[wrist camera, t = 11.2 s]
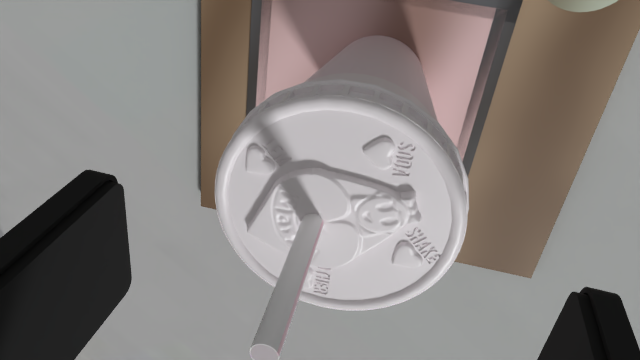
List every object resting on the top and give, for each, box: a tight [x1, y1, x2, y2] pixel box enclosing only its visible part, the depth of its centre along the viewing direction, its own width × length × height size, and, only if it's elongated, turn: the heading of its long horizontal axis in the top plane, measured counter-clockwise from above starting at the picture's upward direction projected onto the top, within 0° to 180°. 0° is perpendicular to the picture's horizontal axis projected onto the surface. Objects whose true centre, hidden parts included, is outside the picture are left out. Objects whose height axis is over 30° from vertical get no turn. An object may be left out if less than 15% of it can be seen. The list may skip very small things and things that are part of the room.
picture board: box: [201, 0, 640, 278], centre depth 22 cm, size 16×16×1 cm
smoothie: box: [215, 35, 469, 360], centre depth 15 cm, size 6×6×14 cm
